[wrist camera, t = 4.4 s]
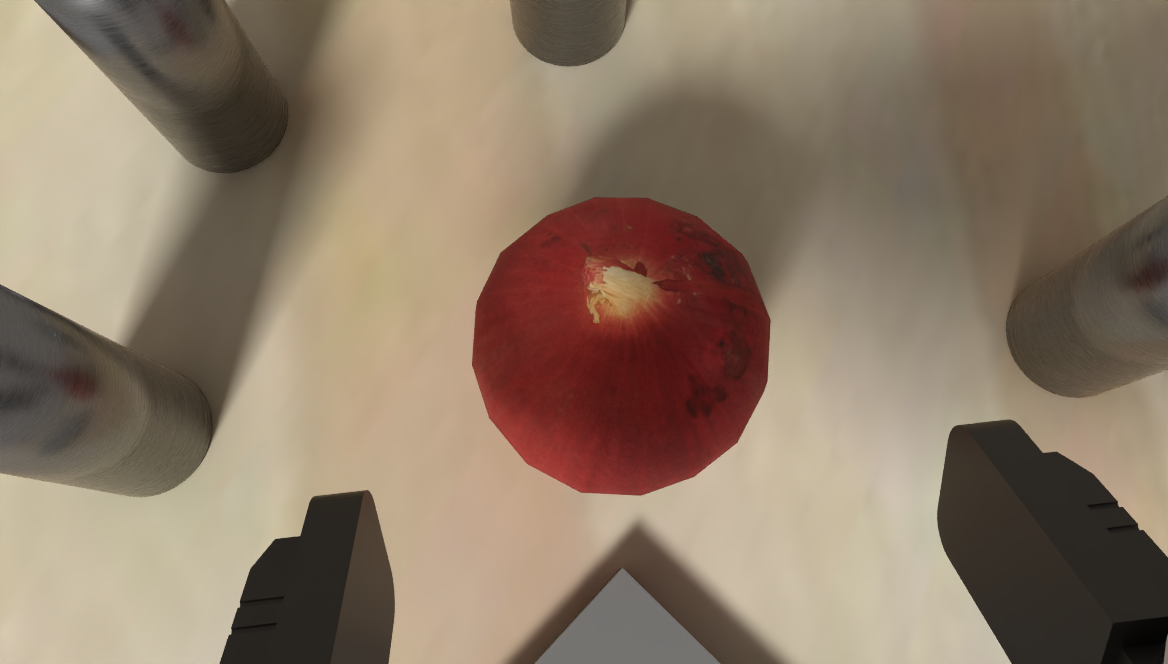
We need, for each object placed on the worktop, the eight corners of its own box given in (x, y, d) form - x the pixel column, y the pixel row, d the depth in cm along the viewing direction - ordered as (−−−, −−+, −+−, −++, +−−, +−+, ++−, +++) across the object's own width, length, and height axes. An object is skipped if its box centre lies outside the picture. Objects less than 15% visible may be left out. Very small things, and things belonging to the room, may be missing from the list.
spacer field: (509, -185, 26) (479, -507, 18) (1157, 334, 22) (1467, 204, 14) (-66, 298, 22) (-412, 149, 14) (589, 1025, 18) (593, 1352, 11)
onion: (685, 237, 23) (738, 63, 15) (774, 458, 21) (883, 389, 14) (461, 313, 22) (396, 171, 14) (537, 542, 21) (510, 522, 13)
